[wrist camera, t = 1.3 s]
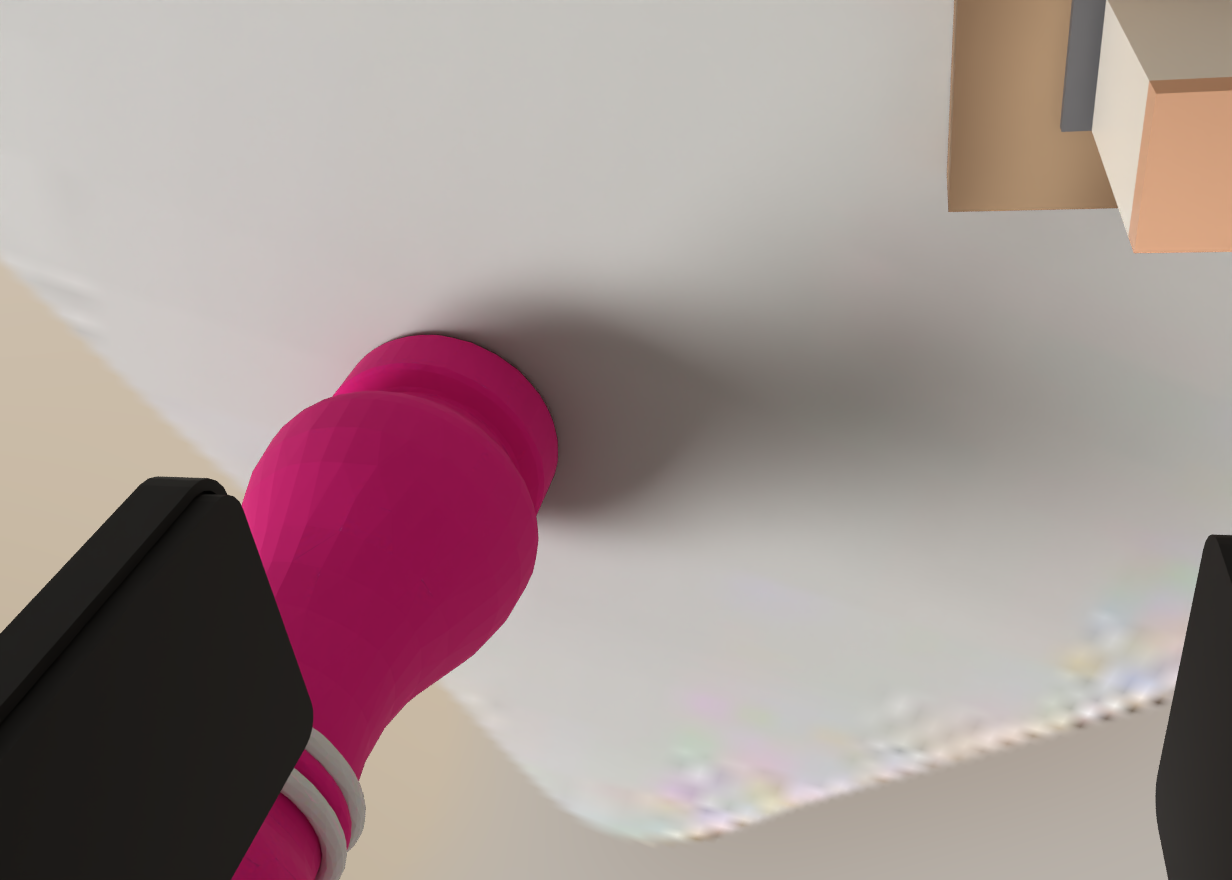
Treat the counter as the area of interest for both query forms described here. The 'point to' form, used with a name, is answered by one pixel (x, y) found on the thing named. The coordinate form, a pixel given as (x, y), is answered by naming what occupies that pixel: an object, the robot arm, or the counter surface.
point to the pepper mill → (390, 560)
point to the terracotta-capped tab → (1168, 121)
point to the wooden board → (1025, 106)
